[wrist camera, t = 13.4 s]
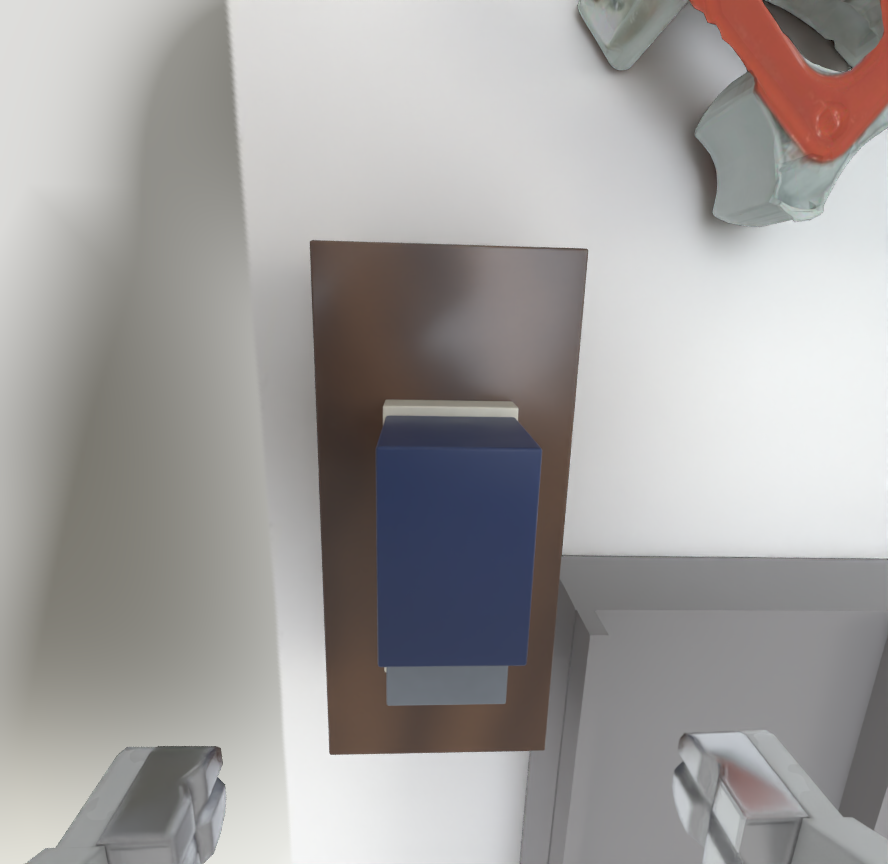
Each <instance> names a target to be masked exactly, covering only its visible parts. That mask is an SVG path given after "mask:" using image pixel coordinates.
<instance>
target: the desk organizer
mask: <svg viewBox="0 0 888 864" xmlns="http://www.w3.org/2000/svg"><path fill="white" fill-rule="evenodd" d="M744 730H767V731H769V732H770V733H772V734H773V735H774V736H775V737H776V738H777V739H778V740H779V741H780V743H781V744H782V745H783V746H784V747H785V749H786V750H787V751H788V752H789V753H790V754H791V756H792V757H793V758H794V759H795V760H796V762H797V763H798V764H799V765H800V766H801V768H802V769H803V770H804V771H805V772H806V773H807V775H808V776H809V777H810V778H811V779H812V781H813V782H814V783H815V784H816V785H817V787H818V788H819V789H820V790H821V791H822V792H823V794H824V795H825V796H826V797H827V798H828V800H829V801H830V802H831V803H832V804H833V806H834V807H835V808H836V809H837V810H838V811H839V813H840V814H841V815H842V816H843V817H853V818H854V819H856V820H858V821H859V822H861V823H862V824H864V825H865V826H867V827H869V828H870V829H872V830H873V831H875V832H876V833H878V834H879V835H881V836H883V837H884V838H886V839H887V840H888V559H828V558H733V557H637V556H562V557H561V569H560V580H559V592H558V603H557V614H556V626H555V637H554V649H553V660H552V672H551V683H550V695H549V706H548V718H547V729H546V741H545V750H543V751H530V757H529V767H528V778H527V789H526V800H525V811H524V821H523V832H522V843H521V854H520V864H703V863H702V859H703V850H704V848H703V847H702V846H701V845H700V844H699V843H698V842H696V841H695V840H694V839H693V838H692V837H690V836H689V835H688V834H687V832H686V830H685V828H684V826H683V824H682V822H681V820H680V818H679V815H678V812H677V809H676V806H675V802H674V796H673V789H672V782H673V774H674V770H675V769H676V768H677V766H678V765H679V764H680V763H681V762H682V761H683V759H682V757H681V755H680V754H679V752H678V744H679V739H680V737H681V736H682V735H683V734H684V733H690V732H715V731H744Z"/></svg>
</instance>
